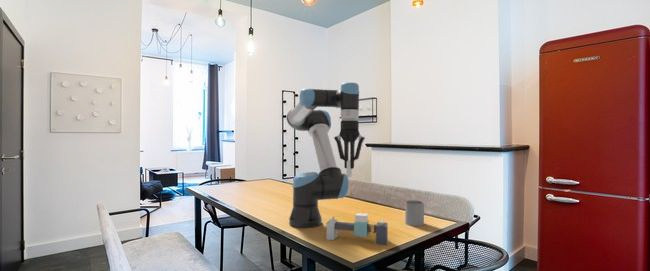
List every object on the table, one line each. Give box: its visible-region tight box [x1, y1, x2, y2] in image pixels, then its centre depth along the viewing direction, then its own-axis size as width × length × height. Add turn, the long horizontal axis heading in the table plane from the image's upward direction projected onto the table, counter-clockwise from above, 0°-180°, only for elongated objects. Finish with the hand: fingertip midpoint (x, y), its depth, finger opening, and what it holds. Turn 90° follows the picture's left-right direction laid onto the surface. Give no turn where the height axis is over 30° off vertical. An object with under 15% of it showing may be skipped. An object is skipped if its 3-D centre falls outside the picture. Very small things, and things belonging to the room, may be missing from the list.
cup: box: [404, 199, 425, 227], centre depth 149 cm, size 8×8×10 cm
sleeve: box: [353, 212, 370, 238], centre depth 126 cm, size 5×5×8 cm
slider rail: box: [326, 216, 389, 246], centre depth 127 cm, size 24×6×8 cm, turn 74°
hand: (349, 176), depth 134 cm, fingers closed
